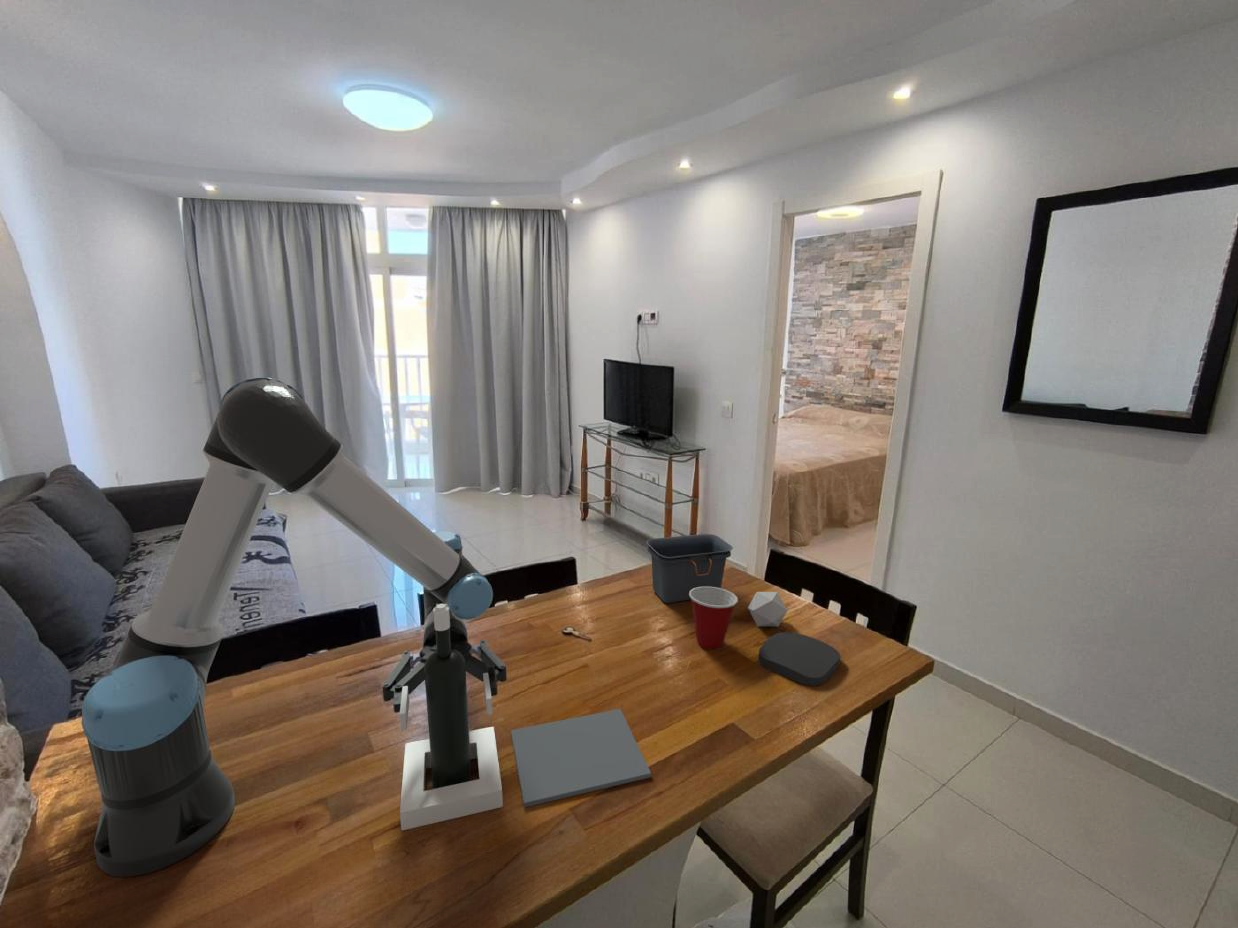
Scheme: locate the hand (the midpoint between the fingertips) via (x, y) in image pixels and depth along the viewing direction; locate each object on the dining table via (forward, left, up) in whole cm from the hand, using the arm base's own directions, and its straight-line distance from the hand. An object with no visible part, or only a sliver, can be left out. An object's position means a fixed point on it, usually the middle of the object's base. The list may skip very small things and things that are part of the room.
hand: (447, 714), depth 79 cm
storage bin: (+62, +52, -15) cm, 82 cm away
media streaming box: (+72, +17, -16) cm, 76 cm away
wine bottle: (0, +4, -15) cm, 16 cm away
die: (+74, +33, -15) cm, 82 cm away
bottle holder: (0, +4, -15) cm, 16 cm away
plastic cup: (+57, +29, -15) cm, 66 cm away
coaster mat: (+20, +4, -15) cm, 25 cm away
